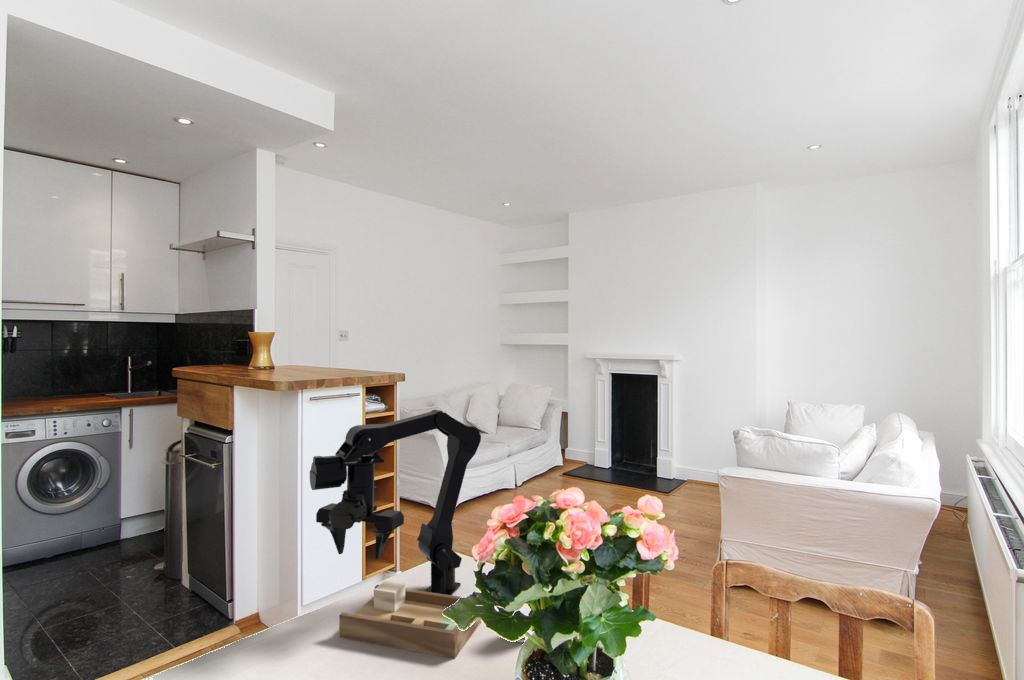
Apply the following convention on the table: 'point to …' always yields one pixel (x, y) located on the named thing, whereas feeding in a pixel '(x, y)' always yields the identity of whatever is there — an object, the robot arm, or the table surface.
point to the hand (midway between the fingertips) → (359, 556)
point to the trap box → (409, 625)
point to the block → (389, 596)
